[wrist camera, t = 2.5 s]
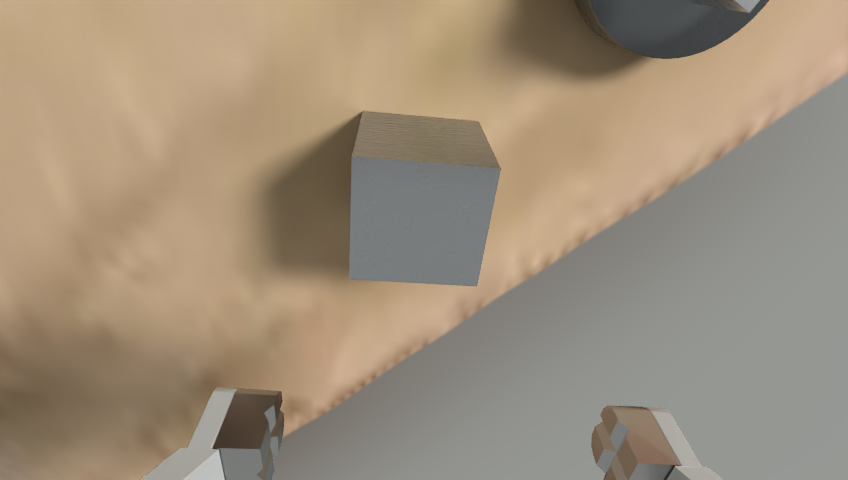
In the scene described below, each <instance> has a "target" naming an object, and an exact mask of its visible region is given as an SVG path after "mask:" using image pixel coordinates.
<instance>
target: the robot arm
mask: <svg viewBox="0 0 848 480" xmlns="http://www.w3.org/2000/svg"><path fill="white" fill-rule="evenodd" d="M282 401H283V400H282V392H281V391H270V390H257V389H243V388H225V387H217V388H216V389H215V390H214V391H213V392H212V394H211V396H210V398H209V400H208V402H207V405H206V407H205V409H204V411H203V413H202V415H201V418H200V420H199V422H198V424H197V426H196V428H195V431H194V433H193V435H192V437H191V439H190V441H189V444H188V446H187V448H179V449H178V450H177V451H175V452H174V453H173V454H172V455H170V456H169V457H168V458H167V459H165V460H164V461H163V462H161V463H160V464H159V465H158V466H156V467H155V468H154V469H153V470H151V471H150V472H149V473H148V474H146V475H145V476H144V477H143V478H141V479H140V480H272V477H273V473H274V464H273V458H274V457H275V456H276V455H277V454H278V453H279V451H280V447H281V442H282V437H283V430H284V413H283V412H282V411H281V410H280V408H281V405H282ZM601 417H602V420H603V422H601V423H600V424H598V425H597V426H595V428H594V431H593V433H592V451H593V456H594V459H595V462H596V464H597V465H598V466H599V467H600V468H601V469H602V470H603V471H604V472H605V473H606V474H605V477H604V480H723V479H722V478H721V477H719V476H718V475H717V474H716V473H714V472H713V471H712V470H711V469H709V468H708V467H702V466H701V464H700V463H699V461H698V459H697V458H696V456H695V454H694V452H693V451H692V449H691V447H690V446H689V444H688V442H687V441H686V439H685V437H684V435H683V434H682V432H681V430H680V429H679V427H678V425H677V423H676V422H675V420H674V418H673V417H672V415H671V413H670V412H669V411H668V410H667V409H666V408H650V407H635V406H606V407H605V408H603V411H602V413H601Z"/></svg>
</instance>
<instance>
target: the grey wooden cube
mask: <svg viewBox="0 0 848 480" xmlns="http://www.w3.org/2000/svg"><path fill="white" fill-rule="evenodd" d="M500 170H501V168H500V166H499V164H498V161H497V159H496V157H495V155H494V153H493V151H492V149H491V146H490V144H489V142H488V140H487V138H486V136H485V134H484V132H483V129H482V127H481V125H480V123H479V122H478V121H466V120H455V119H444V118H433V117H421V116H410V115H399V114H388V113H377V112H365V111H363V112H362V116H361V120H360V124H359V129H358V133H357V137H356V141H355V145H354V149H353V153H352V160H351V206H350V252H349V279H356V280H373V281H391V282H408V283H426V284H443V285H461V286H477V283H478V279H479V274H480V269H481V264H482V259H483V254H484V249H485V244H486V239H487V234H488V229H489V224H490V219H491V214H492V209H493V204H494V199H495V194H496V190H497V185H498V180H499V175H500Z"/></svg>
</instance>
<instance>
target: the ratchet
mask: <svg viewBox="0 0 848 480" xmlns="http://www.w3.org/2000/svg"><path fill="white" fill-rule="evenodd" d="M575 1H576V4H577V6H578V9H579V11H580V13H581V14H582V16H583V18H584V19H585V21H586V22H587V23H588V24H589V26H590V27H591V28H592V29H593V30H594V31H595V32H596V33H597V34H599V35H600V36H601V37H603V38H604V39H606V40H608V41H609V42H612V43H614V44H617V45H619V46H621V47H624V48H626V49H629V50H631V51H634V52H636V53H638V54H641V55H644V56H648V57H652V58H662V59H670V58H680V57H685V56H690V55H694V54H697V53H700V52H703V51H705V50H707V49H709V48H712V47H714V46H716V45H718V44H719V43H721V42H723V41H724V40H726V39H728V38H729V37H731V36H732V35H733V34H735V33H736V32H738V31H739V30H740V29H741V28H743V27H744V26H745V25H746V24H747V23H748V22H749V21H751V20H752V19H753V18H754V17H755V16H756V15H757V13H758V12H759V11H760V10H761V9H762V8H763V7H764V6H765V5H766V3H767V2H768V1H769V0H575Z"/></svg>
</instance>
